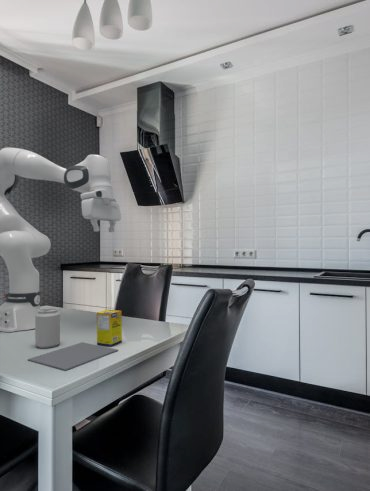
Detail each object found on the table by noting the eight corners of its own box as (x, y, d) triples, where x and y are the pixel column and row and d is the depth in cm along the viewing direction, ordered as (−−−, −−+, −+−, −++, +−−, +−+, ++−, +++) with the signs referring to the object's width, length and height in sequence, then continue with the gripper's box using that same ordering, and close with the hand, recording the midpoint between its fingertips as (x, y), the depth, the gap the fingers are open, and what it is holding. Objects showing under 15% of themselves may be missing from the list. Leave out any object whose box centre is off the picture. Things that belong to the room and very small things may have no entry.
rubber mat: (82, 343, 113) (82, 342, 113) (118, 350, 105) (118, 349, 105) (27, 360, 96) (27, 359, 96) (65, 371, 88) (65, 369, 88)
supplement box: (122, 342, 114) (122, 310, 114) (110, 347, 109) (110, 313, 109) (108, 340, 117) (108, 308, 117) (96, 344, 111) (96, 311, 111)
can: (46, 341, 115) (46, 306, 115) (64, 343, 113) (64, 307, 113) (30, 348, 108) (30, 310, 108) (49, 350, 106) (49, 311, 106)
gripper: (110, 200, 141) (113, 233, 140) (77, 194, 122) (80, 231, 122) (122, 198, 139) (126, 231, 138) (91, 191, 120) (94, 229, 119)
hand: (104, 231), depth 130 cm, fingers open, 8 cm apart
